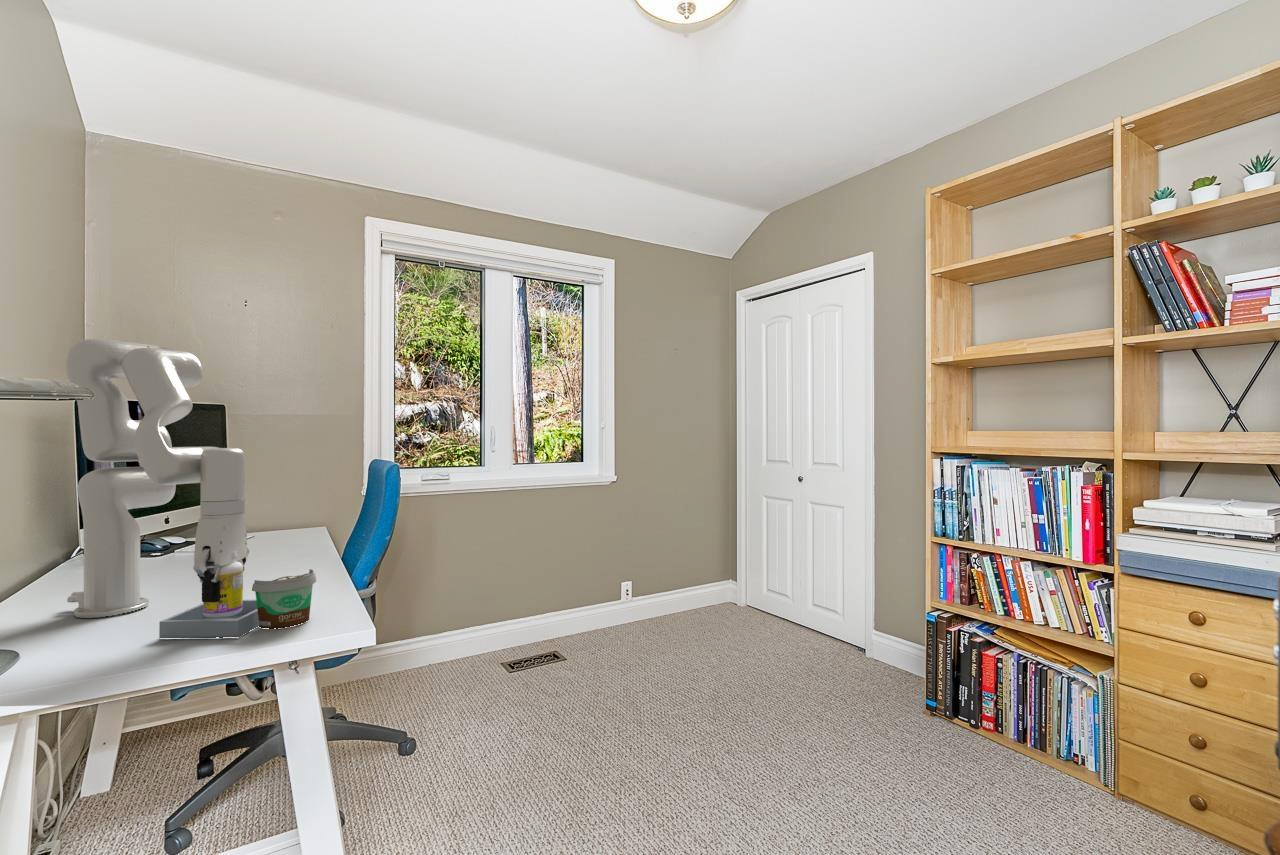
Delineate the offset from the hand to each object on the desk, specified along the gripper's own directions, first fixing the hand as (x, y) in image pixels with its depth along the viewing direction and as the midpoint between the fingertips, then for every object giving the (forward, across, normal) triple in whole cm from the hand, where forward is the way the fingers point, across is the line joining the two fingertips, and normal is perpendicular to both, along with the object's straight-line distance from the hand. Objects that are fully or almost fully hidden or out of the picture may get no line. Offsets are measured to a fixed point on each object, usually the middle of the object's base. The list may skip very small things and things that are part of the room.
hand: (222, 595), depth 124 cm
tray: (+6, 0, 0) cm, 6 cm away
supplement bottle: (+4, 0, 0) cm, 4 cm away
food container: (+7, -1, +13) cm, 15 cm away
